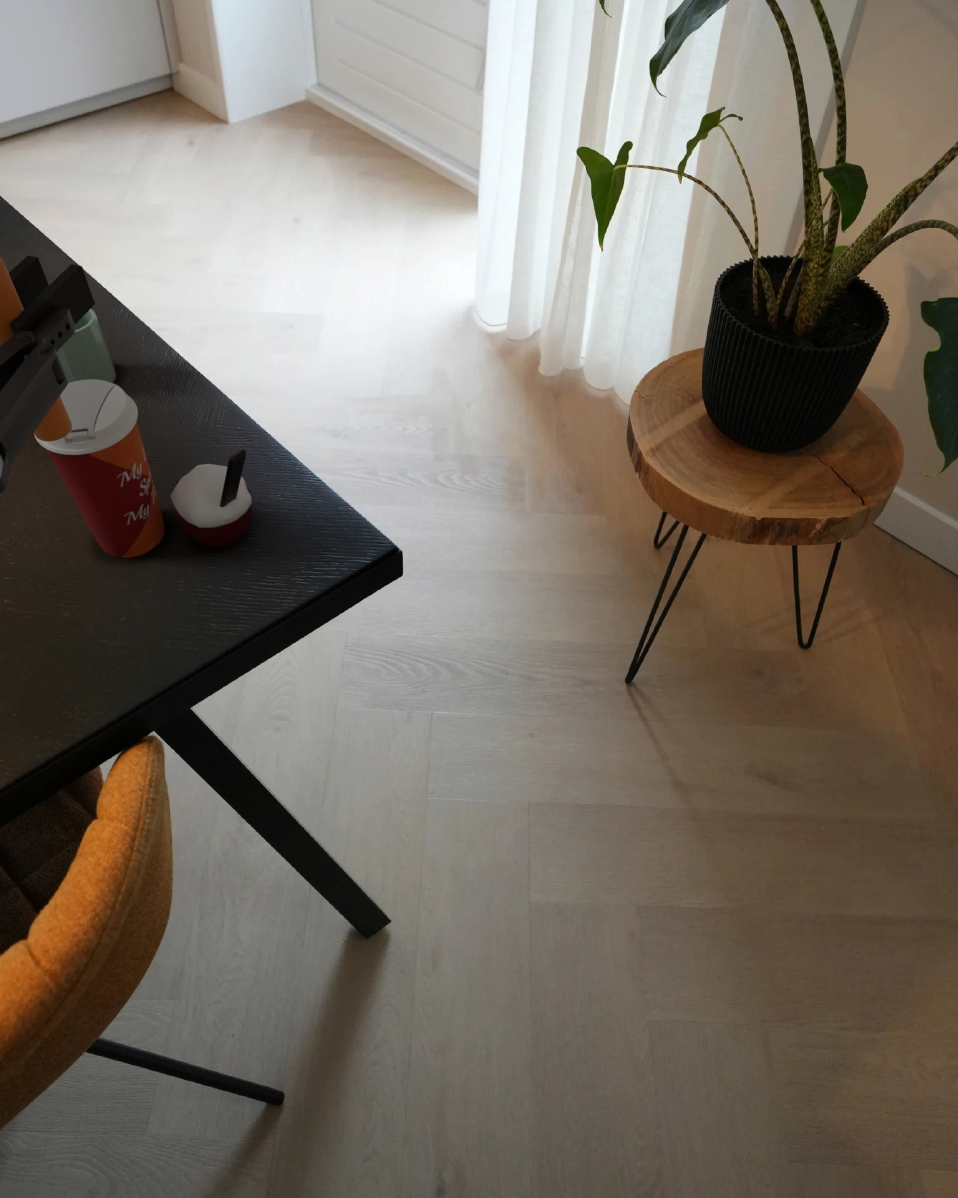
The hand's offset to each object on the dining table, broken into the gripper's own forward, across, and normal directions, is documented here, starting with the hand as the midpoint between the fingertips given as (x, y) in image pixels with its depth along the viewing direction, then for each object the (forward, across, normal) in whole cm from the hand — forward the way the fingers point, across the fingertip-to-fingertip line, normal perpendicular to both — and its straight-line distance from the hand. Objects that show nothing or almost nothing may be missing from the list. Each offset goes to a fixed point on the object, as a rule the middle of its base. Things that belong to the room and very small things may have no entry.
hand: (61, 280), depth 61 cm
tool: (-5, 0, -8) cm, 9 cm away
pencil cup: (+19, -19, -27) cm, 38 cm away
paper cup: (+2, -4, -27) cm, 27 cm away
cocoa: (+4, +4, -27) cm, 27 cm away
